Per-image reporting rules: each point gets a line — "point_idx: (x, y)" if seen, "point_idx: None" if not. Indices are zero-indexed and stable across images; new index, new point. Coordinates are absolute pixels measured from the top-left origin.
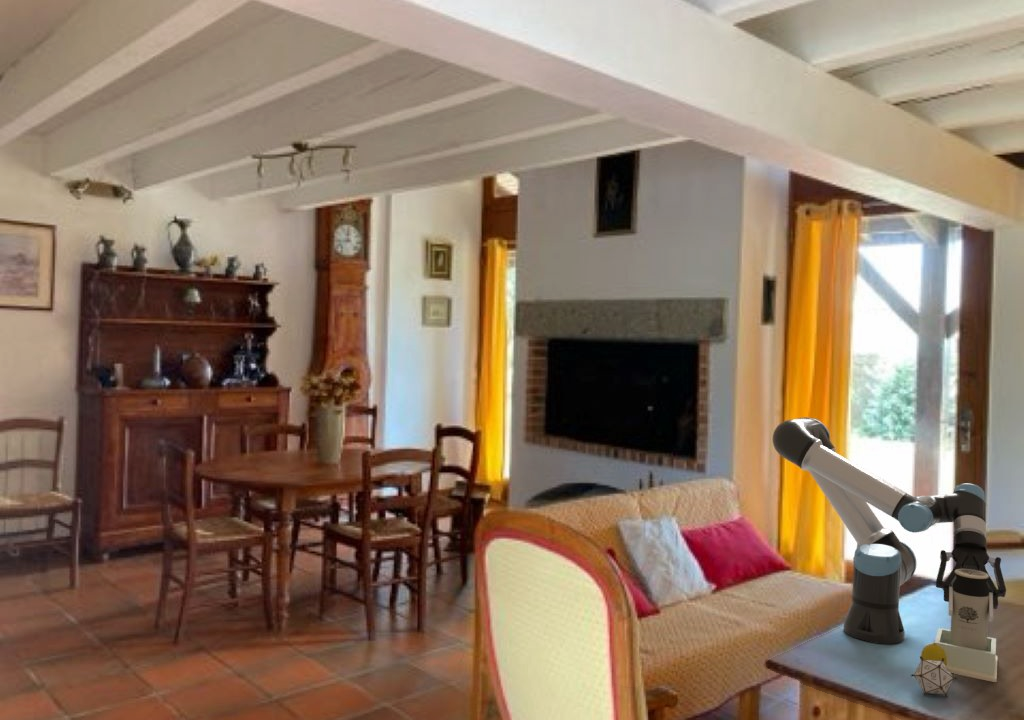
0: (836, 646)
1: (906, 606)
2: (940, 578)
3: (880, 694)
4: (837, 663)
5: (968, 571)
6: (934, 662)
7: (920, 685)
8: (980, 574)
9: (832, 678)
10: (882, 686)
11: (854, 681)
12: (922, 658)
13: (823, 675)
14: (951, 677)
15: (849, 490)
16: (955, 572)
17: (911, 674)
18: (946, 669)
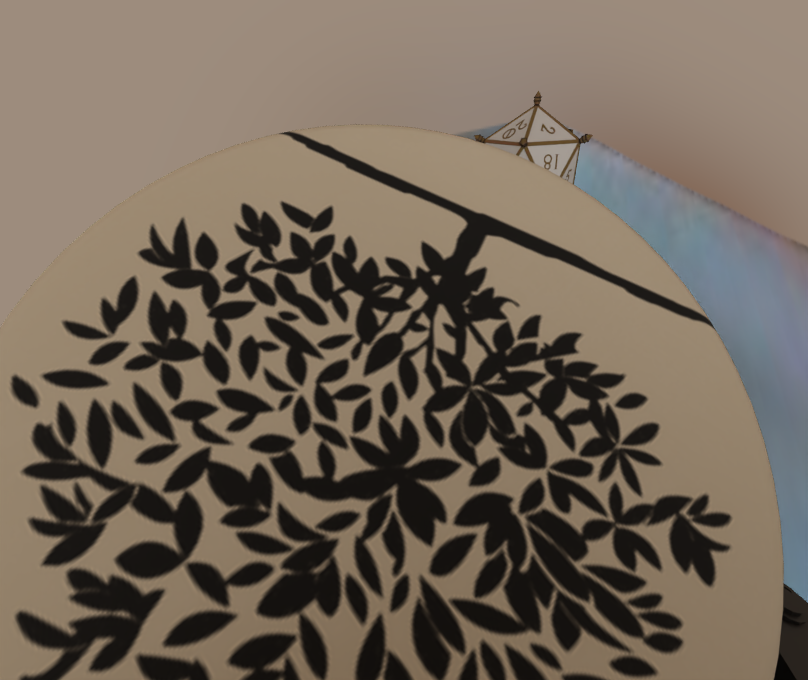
0: (793, 484)
1: None
2: (801, 647)
3: (621, 169)
4: (747, 324)
5: (456, 537)
6: (547, 129)
7: None
8: (215, 309)
9: (731, 222)
10: (622, 210)
11: (683, 220)
12: (582, 136)
13: (753, 233)
14: (491, 136)
15: None
16: (734, 381)
17: (579, 188)
18: (509, 131)
